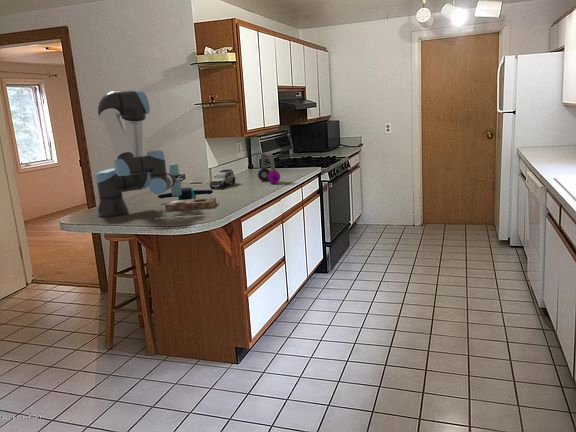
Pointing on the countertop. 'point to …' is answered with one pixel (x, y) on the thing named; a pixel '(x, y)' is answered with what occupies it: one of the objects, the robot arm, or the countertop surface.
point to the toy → (186, 194)
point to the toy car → (223, 179)
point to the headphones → (265, 173)
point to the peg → (177, 186)
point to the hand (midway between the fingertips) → (177, 175)
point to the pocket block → (190, 204)
